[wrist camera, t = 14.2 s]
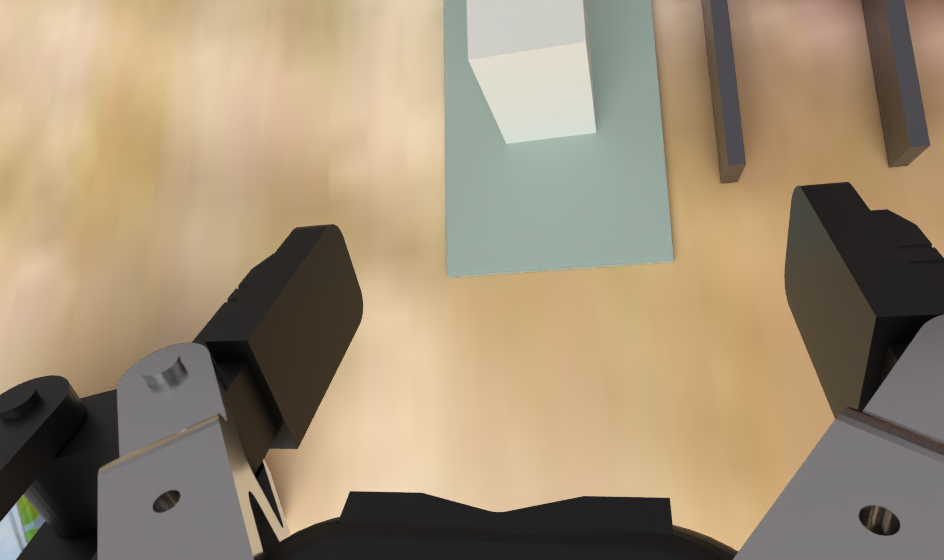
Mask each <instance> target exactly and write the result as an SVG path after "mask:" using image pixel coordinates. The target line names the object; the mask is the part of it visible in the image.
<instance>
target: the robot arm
mask: <svg viewBox="0 0 944 560" xmlns="http://www.w3.org/2000/svg"><path fill="white" fill-rule="evenodd" d="M238 286H239V289H235V290H234V292H233V293H232V294H231V295H230V296H229V298H228V299H227V300H228V302H227V303H224V304H223V305H222V306H221V308H220V309H219V310H218V311H217V312H216V314H215V315H214V316H213V317H212V319H211V320H210V321H209V322H208V323H207V325H206V326H205V327H204V328H203V330H202V331H201V332H200V333H199V335H198V336H197V337H196V338H195V339H194V341H193V342H192V343H181V344H175V345H172V346H168V347H165V348H163V349H160V350H158V351H156V352H153V353H152V354H150V355H148V356H146V357H144V358H143V359H141V360H140V361H138V362H137V363H136V364H135V365H133V366H132V367H131V368H130V369H129V370H128V371H127V372H126V373H125V374H124V375H123V377H122V378H121V380H120V382H119V384H118V387H117V389H116V390H112V391H108V392H104V393H100V394H96V395H92V396H88V397H84V398H79V396H78V395H77V393H76V392H75V391H74V389H73V388H72V386H71V385H70V383H69V382H68V380H67V379H65V378H64V377H61V376H44V377H39V378H35V379H32V380H29V381H27V382H24V383H22V384H19V385H17V386H15V387H13V388H11V389H9V390H8V391H6V392H4V393H2V394H1V395H0V522H1V521H2V520H3V518H4V517H5V516H6V515H7V514H8V512H9V511H10V510H11V509H12V508H13V506H14V505H15V504H16V503H17V501H18V500H19V499H20V498H21V497H22V495H24V496H25V497H26V499H27V500H28V501H29V502H30V503H31V505H32V506H33V507H34V508H35V509H36V510H37V512H38V513H39V514H40V515H41V516H42V518H43V519H44V520H45V522H44V523H43V524H42V526H41V527H40V528H39V530H38V531H37V532H36V534H35V535H34V536H33V538H32V539H31V540H30V542H29V543H28V544H27V546H26V547H25V548H24V549H23V551H22V552H21V553H20V555H19V556H18V557H17V559H16V560H944V258H943V257H942V256H941V254H940V253H939V252H938V251H937V249H936V248H932V243H931V242H930V241H929V240H928V239H927V237H926V236H925V235H924V234H923V232H922V231H921V230H920V229H919V228H918V226H917V225H916V224H914V223H912V222H910V221H908V220H906V219H904V218H903V217H901V216H899V215H897V214H895V213H893V212H891V211H889V210H888V209H887V210H873V211H870V209H869V208H868V207H867V205H866V204H865V203H864V201H863V200H862V198H861V197H860V196H859V194H858V193H857V192H856V190H855V189H854V188H853V186H852V185H851V184H850V183H849V182H841V183H829V184H817V185H806V186H797V187H796V188H795V189H794V192H793V195H792V201H791V210H790V220H789V230H788V240H787V250H786V261H785V290H786V296H787V300H788V304H789V307H790V309H791V312H792V314H793V317H794V319H795V321H796V324H797V326H798V329H799V331H800V334H801V336H802V339H803V341H804V344H805V346H806V348H807V351H808V353H809V356H810V358H811V361H812V363H813V366H814V368H815V371H816V373H817V375H818V378H819V380H820V383H821V385H822V388H823V390H824V393H825V395H826V397H827V400H828V402H829V405H830V407H831V410H832V412H833V415H834V417H835V420H834V422H833V423H832V424H831V426H830V427H829V429H828V430H827V431H826V433H825V434H824V435H823V437H822V438H821V440H820V441H819V442H818V444H817V445H816V446H815V448H814V449H813V450H812V452H811V453H810V455H809V456H808V457H807V459H806V460H805V461H804V463H803V464H802V466H801V467H800V468H799V470H798V471H797V472H796V474H795V475H794V476H793V478H792V479H791V481H790V482H789V483H788V485H787V486H786V487H785V489H784V490H783V492H782V493H781V494H780V496H779V497H778V498H777V500H776V501H775V503H774V504H773V505H772V507H771V508H770V509H769V511H768V512H767V513H766V515H765V516H764V518H763V519H762V520H761V522H760V523H759V524H758V526H757V527H756V529H755V530H754V531H753V533H752V534H751V535H750V537H749V538H748V539H747V541H746V542H745V544H744V545H743V546H742V548H741V549H740V550H739V552H738V551H736V550H734V549H733V548H731V547H729V546H727V545H725V544H723V543H721V542H719V541H717V540H715V539H713V538H711V537H709V536H706V535H703V534H701V533H698V532H695V531H692V530H690V529H686V528H682V527H679V526H675V525H672V516H671V506H670V498H644V497H596V496H583V497H578V498H573V499H568V500H563V501H557V502H552V503H547V504H542V505H537V506H532V507H527V508H522V509H517V510H512V511H507V512H491V511H487V510H483V509H480V508H476V507H472V506H468V505H465V504H461V503H457V502H454V501H450V500H446V499H443V498H439V497H435V496H431V495H428V494H424V493H404V492H356V491H350V493H349V495H348V498H347V501H346V503H345V506H344V508H343V511H342V514H341V516H340V517H337V518H333V519H330V520H327V521H323V522H320V523H317V524H314V525H312V526H310V527H307V528H305V529H303V530H300V531H298V532H296V533H295V534H293V535H291V534H290V531H289V528H288V525H287V522H286V519H285V516H284V513H283V510H282V507H281V503H280V500H279V497H278V494H277V491H276V488H275V485H274V482H273V479H272V476H271V473H270V470H269V468H268V466H267V464H266V462H265V460H264V457H265V456H266V454H267V452H268V450H269V449H298V447H299V445H300V443H301V441H302V439H303V437H304V435H305V433H306V431H307V429H308V427H309V425H310V423H311V421H312V419H313V417H314V415H315V413H316V411H317V409H318V407H319V405H320V403H321V401H322V399H323V397H324V395H325V393H326V391H327V389H328V387H329V385H330V383H331V381H332V379H333V377H334V375H335V373H336V371H337V369H338V367H339V365H340V363H341V361H342V359H343V357H344V355H345V353H346V351H347V349H348V347H349V345H350V343H351V341H352V339H353V337H354V335H355V333H356V331H357V329H358V327H359V325H360V322H361V319H362V314H363V299H362V293H361V289H360V286H359V283H358V280H357V277H356V274H355V271H354V268H353V265H352V262H351V259H350V256H349V253H348V250H347V247H346V244H345V240H344V237H343V235H342V233H341V231H340V229H339V228H338V227H337V226H336V225H333V224H330V225H318V226H306V227H297V228H295V229H294V230H293V231H292V232H291V233H290V235H289V236H288V237H287V238H286V240H285V241H284V242H283V243H282V245H281V246H280V247H279V248H278V250H277V251H276V252H275V254H272V255H271V256H270V257H268V258H267V259H265V260H264V261H263V262H261V263H260V264H258V265H257V266H255V267H254V268H253V269H251V271H250V272H249V273H248V274H247V276H246V277H245V278H244V279H243V281H242V282H241V283H240V284H239V285H238Z"/></svg>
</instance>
